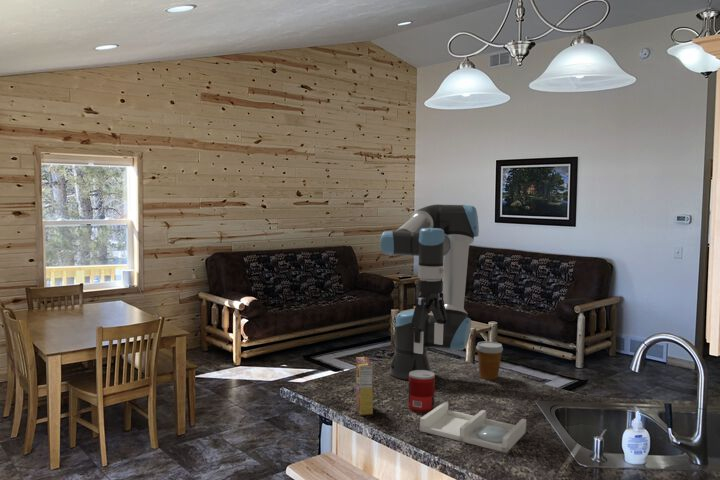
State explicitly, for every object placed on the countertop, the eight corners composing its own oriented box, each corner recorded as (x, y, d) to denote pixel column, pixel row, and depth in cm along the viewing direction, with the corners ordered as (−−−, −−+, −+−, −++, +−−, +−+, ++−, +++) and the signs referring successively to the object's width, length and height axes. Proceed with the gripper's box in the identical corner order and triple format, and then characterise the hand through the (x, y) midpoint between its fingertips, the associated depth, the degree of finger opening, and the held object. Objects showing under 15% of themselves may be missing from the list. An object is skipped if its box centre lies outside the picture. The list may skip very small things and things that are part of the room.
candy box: (354, 404, 190) (355, 356, 189) (368, 404, 190) (369, 356, 189) (358, 415, 181) (359, 365, 180) (373, 414, 182) (373, 364, 180)
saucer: (483, 427, 171) (483, 422, 171) (514, 434, 166) (515, 430, 166) (471, 438, 163) (471, 433, 163) (503, 446, 158) (503, 441, 158)
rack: (444, 416, 181) (444, 401, 181) (525, 435, 168) (526, 419, 168) (419, 434, 168) (420, 418, 167) (506, 456, 155) (507, 439, 154)
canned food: (438, 411, 185) (439, 376, 184) (413, 413, 183) (414, 378, 182) (428, 402, 192) (429, 368, 191) (404, 405, 190) (405, 370, 189)
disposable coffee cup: (470, 377, 218) (471, 345, 217) (481, 371, 226) (482, 339, 225) (496, 382, 213) (497, 349, 212) (506, 376, 221) (507, 343, 220)
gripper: (422, 285, 171) (420, 359, 172) (458, 276, 192) (456, 342, 193) (399, 282, 175) (397, 355, 177) (437, 274, 196) (435, 338, 197)
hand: (428, 348), depth 185 cm, fingers open, 13 cm apart
